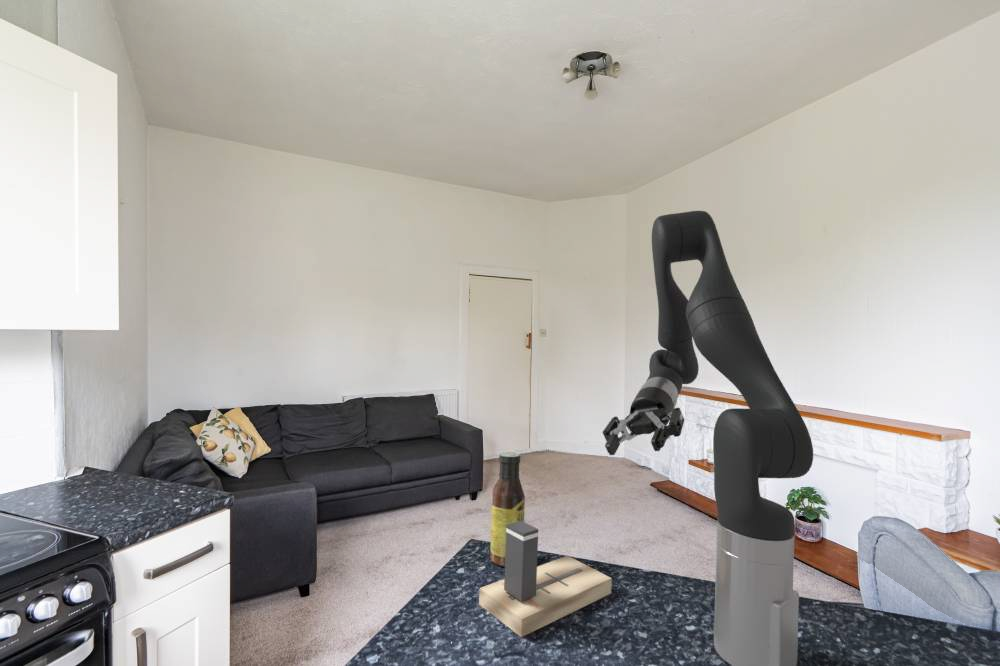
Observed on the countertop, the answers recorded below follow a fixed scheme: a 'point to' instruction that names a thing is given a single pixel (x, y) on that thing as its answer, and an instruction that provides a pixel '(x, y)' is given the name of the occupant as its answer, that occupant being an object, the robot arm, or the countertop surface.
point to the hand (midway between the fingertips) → (631, 448)
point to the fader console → (547, 595)
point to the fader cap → (521, 560)
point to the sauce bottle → (505, 504)
